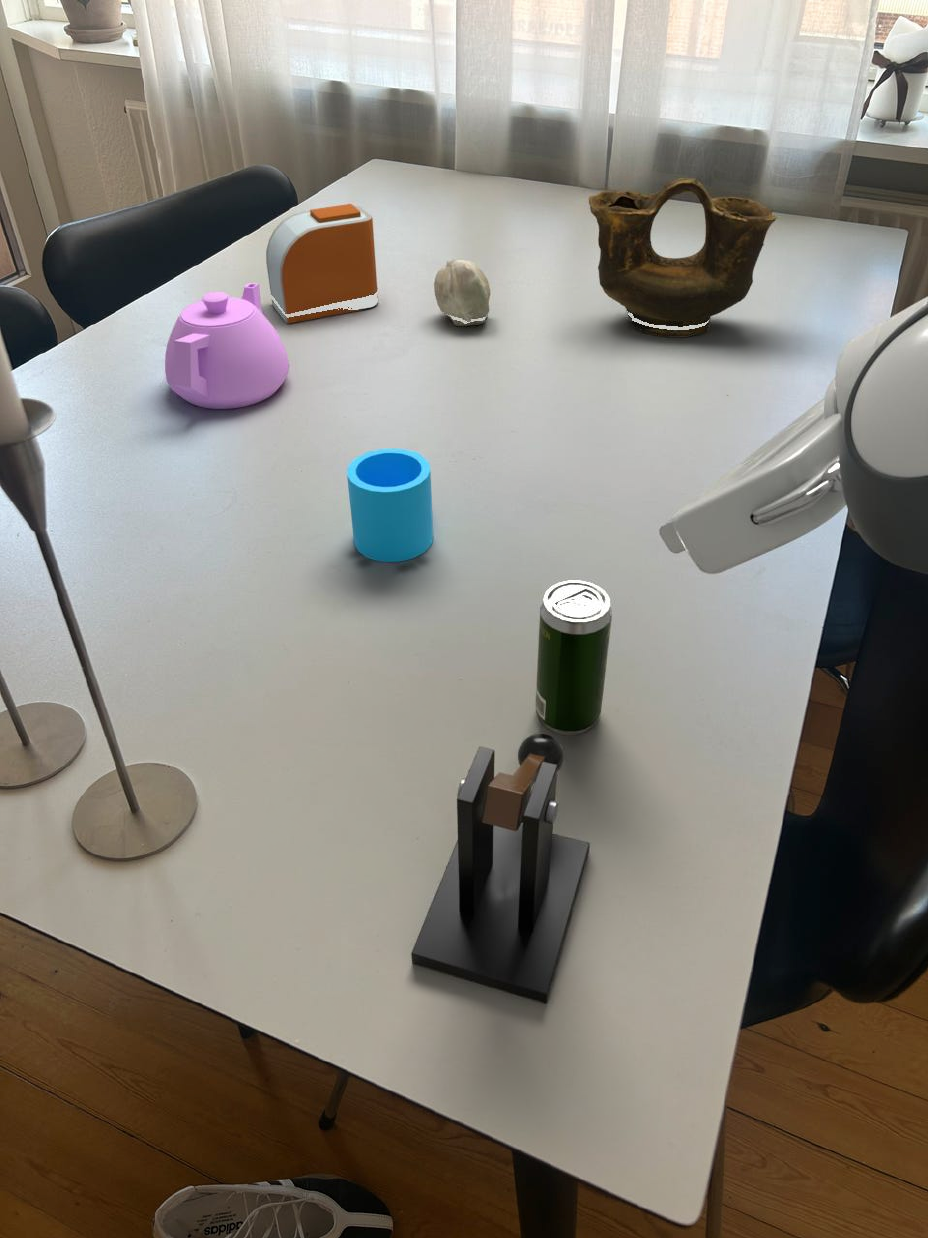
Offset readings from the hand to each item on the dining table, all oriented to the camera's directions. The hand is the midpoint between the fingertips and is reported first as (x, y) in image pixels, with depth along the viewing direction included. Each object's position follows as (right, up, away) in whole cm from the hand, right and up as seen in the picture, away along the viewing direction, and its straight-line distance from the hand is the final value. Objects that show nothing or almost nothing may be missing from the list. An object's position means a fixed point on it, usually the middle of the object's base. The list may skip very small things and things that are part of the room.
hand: (714, 502), depth 58 cm
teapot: (-45, +23, +68) cm, 85 cm away
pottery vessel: (+14, +36, +82) cm, 90 cm away
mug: (-22, +2, +43) cm, 48 cm away
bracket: (-12, -26, +8) cm, 30 cm away
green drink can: (-6, -15, +22) cm, 27 cm away
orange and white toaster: (-36, +40, +89) cm, 104 cm away
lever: (-11, -19, +6) cm, 23 cm away
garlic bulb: (-15, +37, +84) cm, 93 cm away
